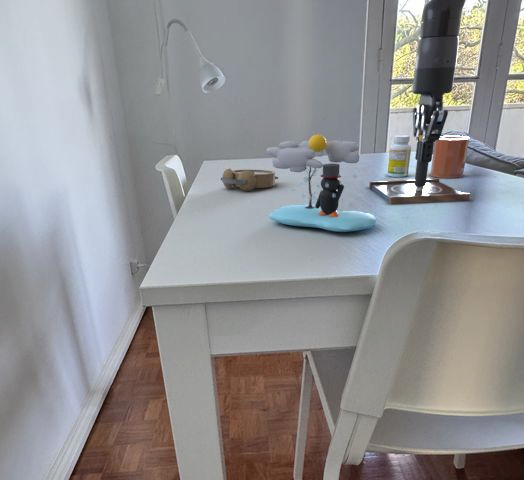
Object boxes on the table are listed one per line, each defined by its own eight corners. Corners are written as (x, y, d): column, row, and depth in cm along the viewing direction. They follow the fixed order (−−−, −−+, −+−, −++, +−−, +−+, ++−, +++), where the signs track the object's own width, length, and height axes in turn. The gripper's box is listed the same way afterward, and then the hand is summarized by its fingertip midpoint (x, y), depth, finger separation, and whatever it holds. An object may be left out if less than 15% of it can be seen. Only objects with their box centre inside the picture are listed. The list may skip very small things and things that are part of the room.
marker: (422, 188, 104) (429, 134, 98) (426, 191, 102) (434, 135, 96) (411, 189, 104) (418, 135, 98) (415, 191, 101) (422, 136, 96)
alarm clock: (285, 172, 118) (244, 169, 107) (283, 192, 120) (243, 192, 109) (252, 168, 124) (210, 165, 114) (250, 188, 126) (209, 187, 115)
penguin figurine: (384, 226, 83) (393, 132, 75) (354, 241, 76) (360, 139, 68) (293, 212, 94) (292, 128, 87) (259, 224, 87) (255, 134, 80)
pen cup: (455, 172, 126) (461, 135, 122) (468, 177, 119) (474, 138, 115) (425, 173, 126) (430, 136, 122) (437, 178, 119) (442, 140, 115)
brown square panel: (437, 184, 113) (438, 178, 112) (469, 200, 98) (470, 193, 97) (369, 187, 112) (369, 181, 112) (390, 204, 97) (390, 197, 96)
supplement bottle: (398, 178, 122) (402, 137, 117) (382, 175, 126) (386, 136, 121) (412, 175, 124) (417, 135, 119) (397, 172, 128) (401, 134, 123)
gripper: (469, 63, 85) (453, 165, 94) (440, 66, 97) (428, 155, 106) (429, 65, 85) (416, 166, 93) (404, 67, 97) (395, 157, 106)
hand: (423, 160), depth 100 cm, fingers closed on marker, 2 cm apart
